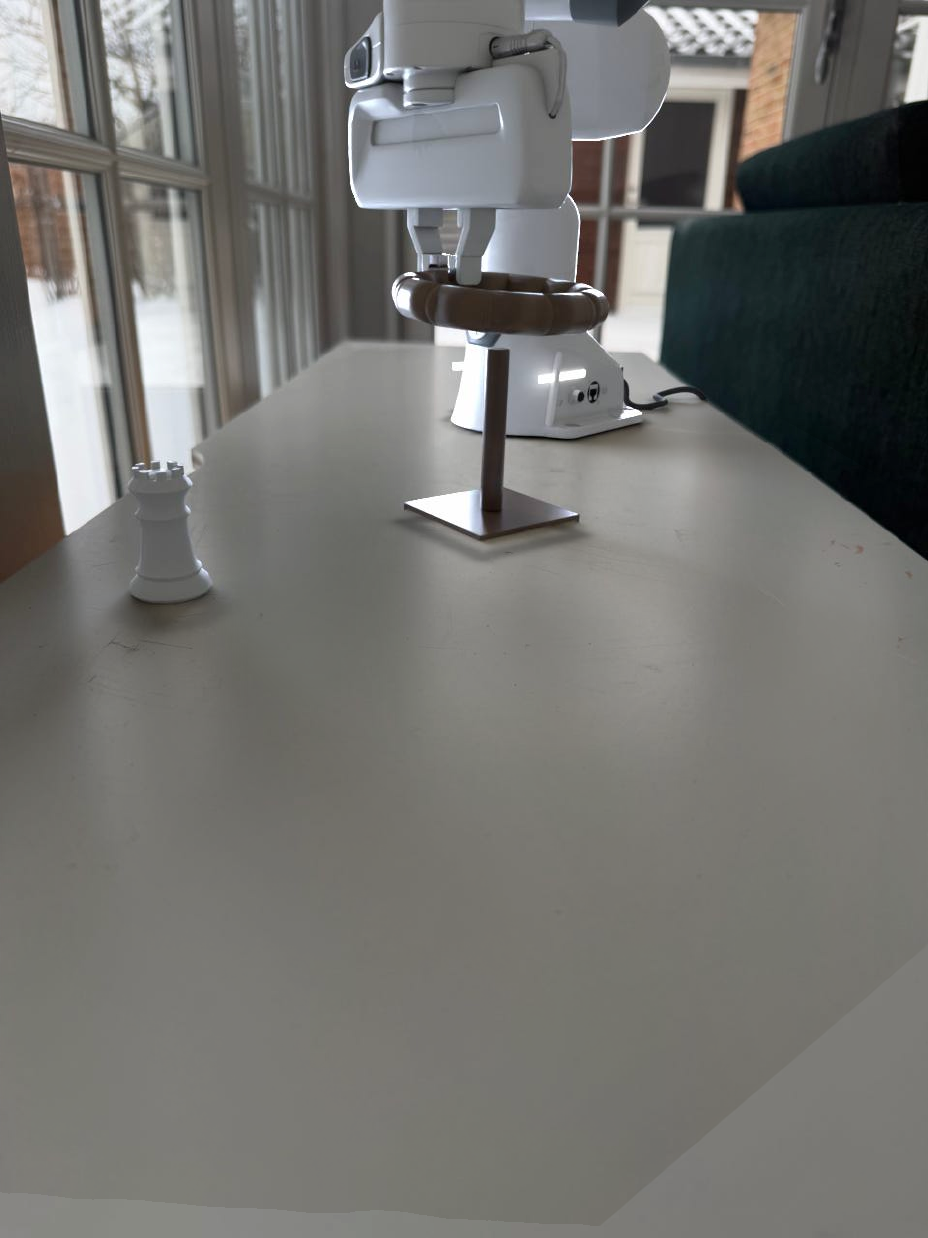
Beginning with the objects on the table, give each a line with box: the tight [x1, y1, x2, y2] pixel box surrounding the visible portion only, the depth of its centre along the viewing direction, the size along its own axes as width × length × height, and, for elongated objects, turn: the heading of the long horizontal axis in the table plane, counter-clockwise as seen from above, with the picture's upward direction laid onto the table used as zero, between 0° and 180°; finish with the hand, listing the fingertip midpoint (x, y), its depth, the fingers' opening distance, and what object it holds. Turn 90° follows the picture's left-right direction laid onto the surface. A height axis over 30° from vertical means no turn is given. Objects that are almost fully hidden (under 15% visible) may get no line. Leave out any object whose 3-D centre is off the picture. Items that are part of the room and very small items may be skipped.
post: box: [403, 347, 581, 542], centre depth 61 cm, size 9×9×12 cm
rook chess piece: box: [126, 460, 213, 605], centre depth 47 cm, size 4×4×8 cm
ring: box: [391, 270, 610, 336], centre depth 57 cm, size 14×14×2 cm
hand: (448, 282), depth 61 cm, fingers closed on ring, 2 cm apart
